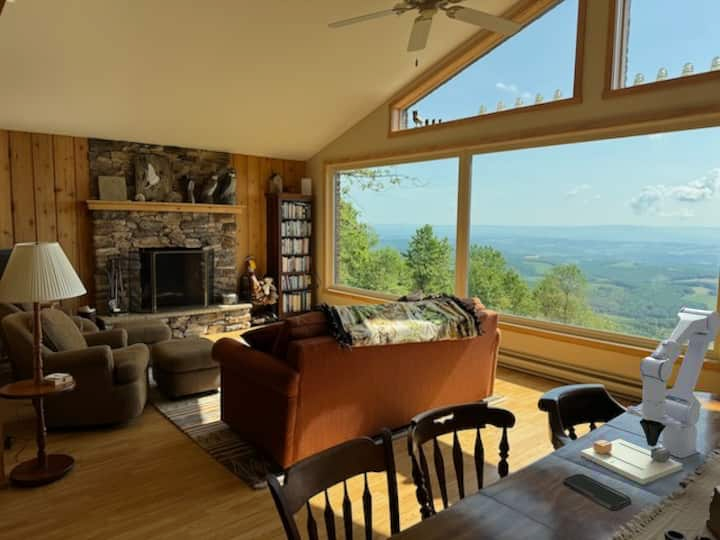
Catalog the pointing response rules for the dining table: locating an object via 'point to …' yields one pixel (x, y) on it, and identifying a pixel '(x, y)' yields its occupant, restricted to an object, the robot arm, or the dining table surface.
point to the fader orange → (602, 446)
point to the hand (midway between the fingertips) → (652, 445)
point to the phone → (597, 491)
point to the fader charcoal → (660, 454)
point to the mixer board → (632, 462)
